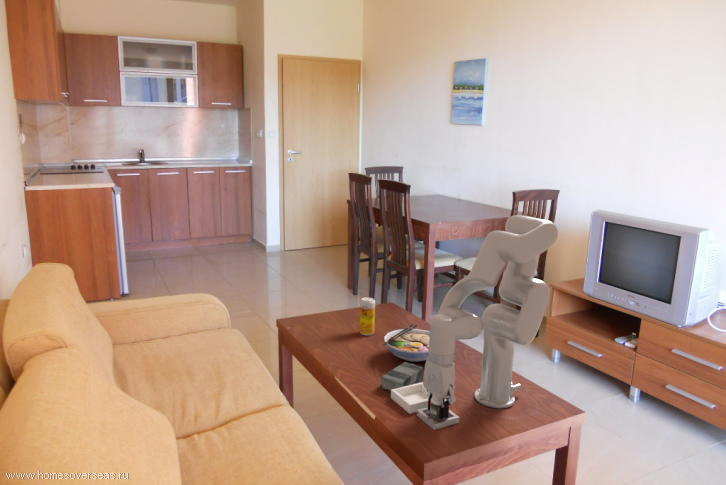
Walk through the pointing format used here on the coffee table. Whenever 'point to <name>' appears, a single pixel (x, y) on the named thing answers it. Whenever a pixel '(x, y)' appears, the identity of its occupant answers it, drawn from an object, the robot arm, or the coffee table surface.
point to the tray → (411, 397)
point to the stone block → (402, 376)
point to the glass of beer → (367, 316)
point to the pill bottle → (435, 408)
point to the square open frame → (438, 424)
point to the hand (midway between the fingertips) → (437, 412)
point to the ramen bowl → (409, 343)
